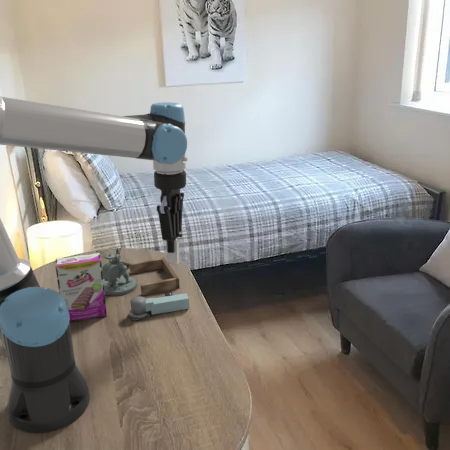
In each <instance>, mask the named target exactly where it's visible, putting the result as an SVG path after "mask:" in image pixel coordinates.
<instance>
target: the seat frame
mask: <svg viewBox="0 0 450 450" xmlns="http://www.w3.org/2000/svg"><path fill="white" fill-rule="evenodd" d="M130 264H132V267H131V268H129V272H130V275H133V274H138V273H144V272H149V271H150V272H151V271H153V270H156V273H158V274H159V273H160V274H161V273H163V271H164V272H165V274H166V276H167V277H168V278H166V279H162V280H161V279H160V280H158V281H157V280H156V281H151V282H146V283H142V284H140V292H141V293H140V294H141V296H146V295H152V294H158V293H161V292H168V291H171V290H176V289H180V286H181V285H180V278H179V276H178V275H177V273H176V272H175V271H174V270H173V268H172V267H171V264H169V263H167V259H166V258H165V257H160V258H155V259H150V260H143V261H137V262H131V263H130Z"/></svg>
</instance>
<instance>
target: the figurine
mask: <svg viewBox="0 0 450 450" xmlns="http://www.w3.org/2000/svg"><path fill="white" fill-rule="evenodd" d="M121 250H122V248H120V247H116V249H115V254H113V253H107V254H105V255H104V259H105V260H108V261H107V262H105V263H104V264H103V265H102V273H103V282H104V292H105V295H107V296H115V297H116V296H123V295H127V294H129V293H133V292H134V291H135V290H137V288H138V280H137V279H136V278H135V277H133V276H130V274H129V272H128V270H130V268H131V267H132V264H131V263H129V262H126V261H123V260H122V259H121Z"/></svg>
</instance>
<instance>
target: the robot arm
mask: <svg viewBox="0 0 450 450" xmlns="http://www.w3.org/2000/svg"><path fill="white" fill-rule="evenodd" d="M184 111H185V110H184V107H183V105H182V104H181V103H177V102H171V101H170V102H167V101H166V102H156V103H152V104H151V105H150V110H149V113H145V114H135V115H133V114H132V115H117V114H109V113H104V112H99V111H98V112H97V111H91V110H87V109H86V110H85V109H80V108H74V107H73V108H72V107H67V106H60V105H55V104H48V103H41V102H37V101H31V100H23V99H17V98H11V97H5V96H0V146H10V147H22V148H29V149H39V150H40V149H41V150H50V151H60V152H61V151H63V152H71V153H81V154H89V155H98V156H99V155H100V156H101V155H102V156H109V157H110V156H111V157H120V158H131V159H137V160H146V161H152V168H153V170H154V172H153V181H154V183H153V184H154V187H155V188H156V189H157V190H158V189H159V190H160V191H161V193H160V196H159V197H160V198H159V200H160V205H159V204H158V205H157V206H156V212H157V214H158V218H159V225H160V233H161V240H162V241H165V242H166V243H165V244H166V261H167V263H168V264H169V265H178V264H179V263H180V243H179V242H180V241H179V239H180V238H182V237H183V234H182V231H183V229H182V228H183V209H184V208H183V207H184V205H183V204H184V199H185V198H184V197H185V192H181V190H182V189H184V188H185V187H186V186H187V172H186V171H185V169H186V162H187V161H188V158H187V157H186V153H187V149H188V138H187V136H186V121H185V119H186V117H185V112H184ZM69 320H70V319H69V312H68V308H67V306H66V302H65V300H64V298H63V297H62V295H61V294H59V291H56V290H54V289H53V288H50V287H49V288H45V287H43V286H40V282H38V279H37V276H36V275H35V273H34V270H33V268H32V266H31V263H30V261H28V260H26V259H23V258H19V256H18V254H17V252H16V250H15V248H14V245H13V243H12V241H11V239H10V236H9V235H8V231H7V230H6V228H5V226H4V223H3V220H2V219H1V218H0V342H1V344H2V345H3V347H4V350H5V353H6V357H7V362H8V367H9V372H10V376H11V385H10V390H9V395H8V400H7V401H8V402H7V413H8V417H9V418H8V419H9V422H10V423H11V425H12V426H13V427H14V428H16V429H18V430H19V431H22V432H25V433H29V434H30V433H31V434H39V433H47V432H53V431H56V430H58V429H61V428H64V427H65V426H68V425H70V424H71V423H73V422H74V421H76V420H78V418H80V417H81V416H82V414H84V412H85V411H86V409H88V406H89V404H90V400H91V399H90V397H91V396H90V389H89V385H88V383H87V381H86V379H85V377H84V376H83V374H82V373H81V371H80V369H79V368H78V366H77V363H76V358H75V351H74V345H73V338H72V337H73V336H72V331H71V330H72V329H71V322H69Z"/></svg>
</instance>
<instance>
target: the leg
mask: <svg viewBox="0 0 450 450" xmlns="http://www.w3.org/2000/svg"><path fill="white" fill-rule="evenodd" d="M188 309H190V298H189V296H188V293H178V294H174V295H173V294H172V296H166V297H165V296H162V297H154V298H153V297H150V298H146V297H145V296H134V297H132V298H131V299H130V310H131V312H132V313H133V314H143V313H145V312H147V311H149V312H150V313H151V315H158V314H164V313H169V312H170V313H171V312H176V311H182V310H188Z"/></svg>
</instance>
